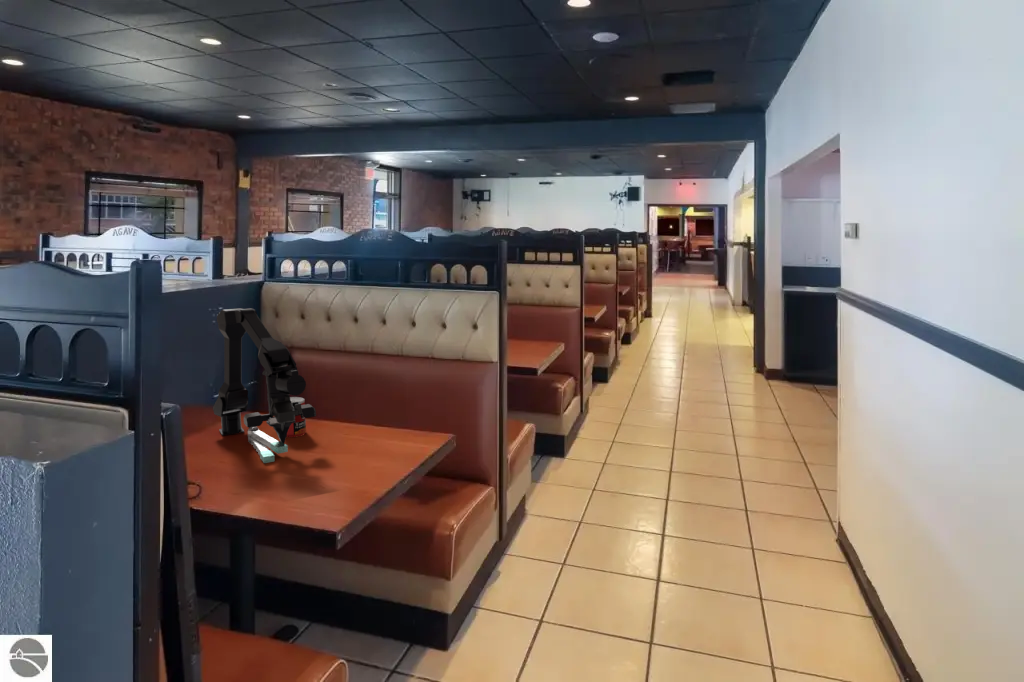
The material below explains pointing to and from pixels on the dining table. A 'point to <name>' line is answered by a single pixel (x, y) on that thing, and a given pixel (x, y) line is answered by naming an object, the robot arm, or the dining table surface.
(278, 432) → the robot arm
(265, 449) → the tongs lower
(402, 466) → the dining table surface
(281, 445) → the tong arm
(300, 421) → the canned food
